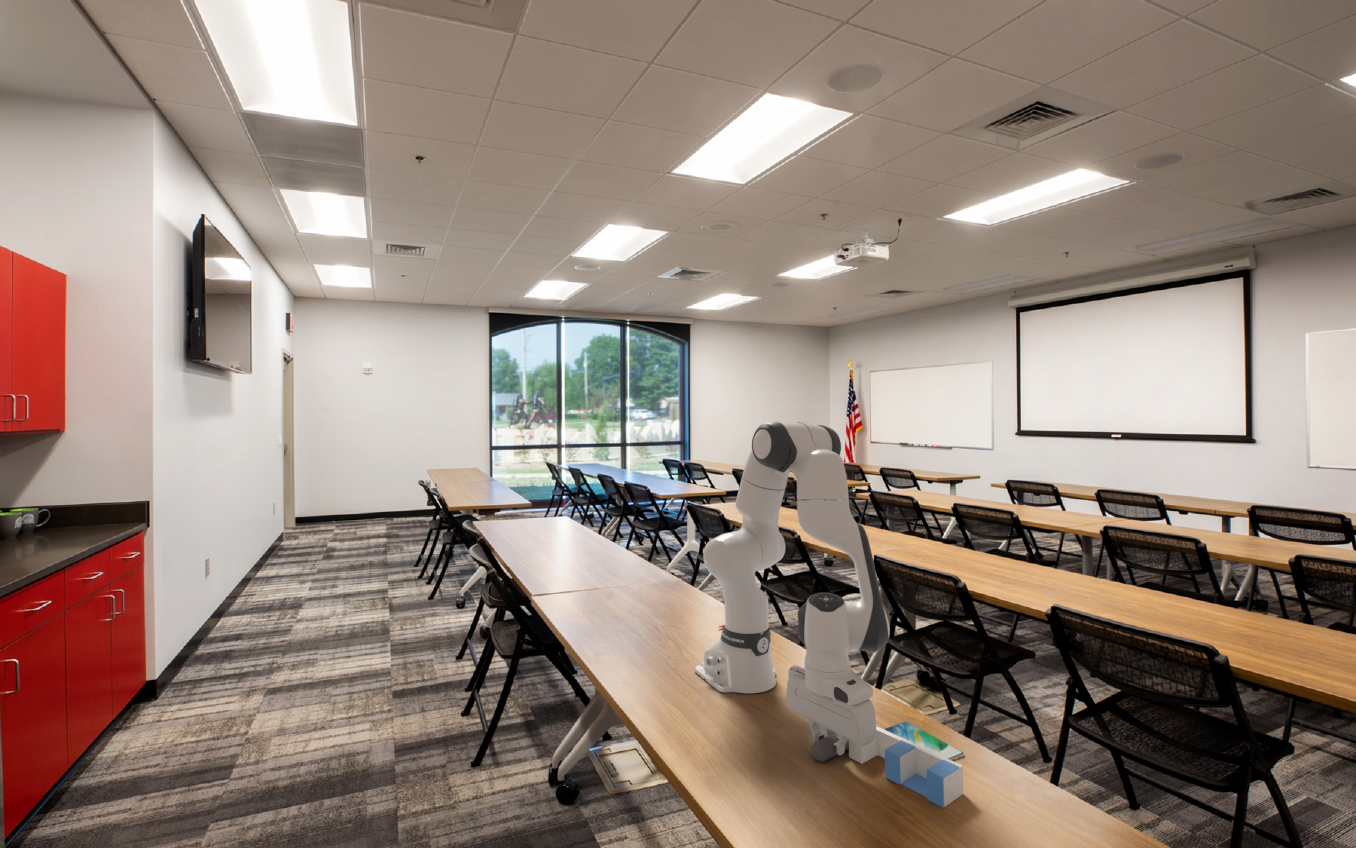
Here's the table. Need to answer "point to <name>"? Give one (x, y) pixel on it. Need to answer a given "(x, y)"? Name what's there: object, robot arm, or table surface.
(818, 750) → the gray pill-shaped peg
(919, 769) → the white slotted rack
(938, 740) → the smartphone
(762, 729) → the table surface
